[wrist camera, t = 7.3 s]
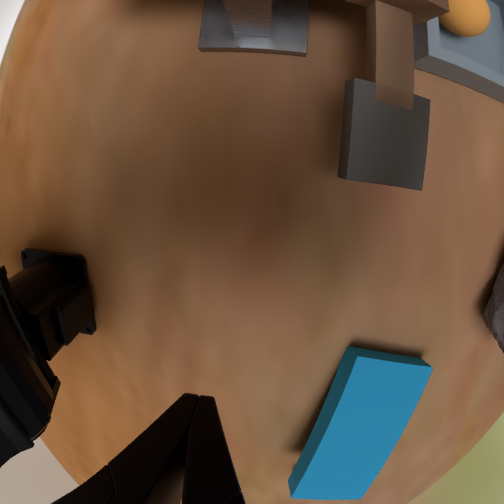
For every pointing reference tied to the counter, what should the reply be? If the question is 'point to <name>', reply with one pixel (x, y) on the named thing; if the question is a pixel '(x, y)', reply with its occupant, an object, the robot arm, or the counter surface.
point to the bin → (464, 53)
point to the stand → (255, 26)
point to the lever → (388, 99)
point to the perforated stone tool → (496, 310)
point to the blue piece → (358, 424)
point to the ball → (466, 17)
